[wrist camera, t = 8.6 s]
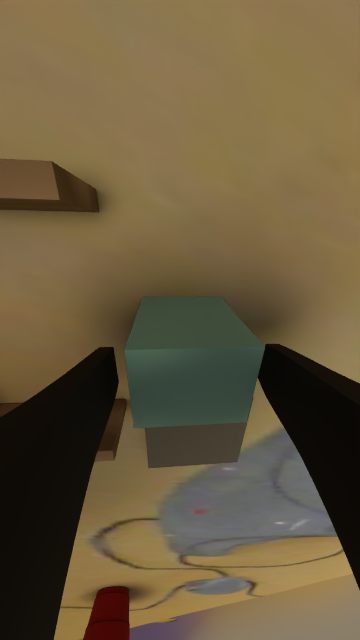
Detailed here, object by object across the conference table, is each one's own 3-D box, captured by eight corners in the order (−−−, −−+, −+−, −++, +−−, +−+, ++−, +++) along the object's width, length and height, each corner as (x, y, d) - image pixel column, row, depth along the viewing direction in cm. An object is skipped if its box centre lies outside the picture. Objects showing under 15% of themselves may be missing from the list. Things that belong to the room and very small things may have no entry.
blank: (214, 348, 14) (246, 422, 8) (146, 350, 14) (133, 428, 8) (220, 296, 12) (265, 346, 7) (142, 296, 12) (124, 350, 6)
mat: (235, 456, 20) (237, 462, 19) (149, 462, 19) (148, 468, 19) (250, 392, 16) (253, 397, 16) (143, 397, 15) (143, 402, 15)
